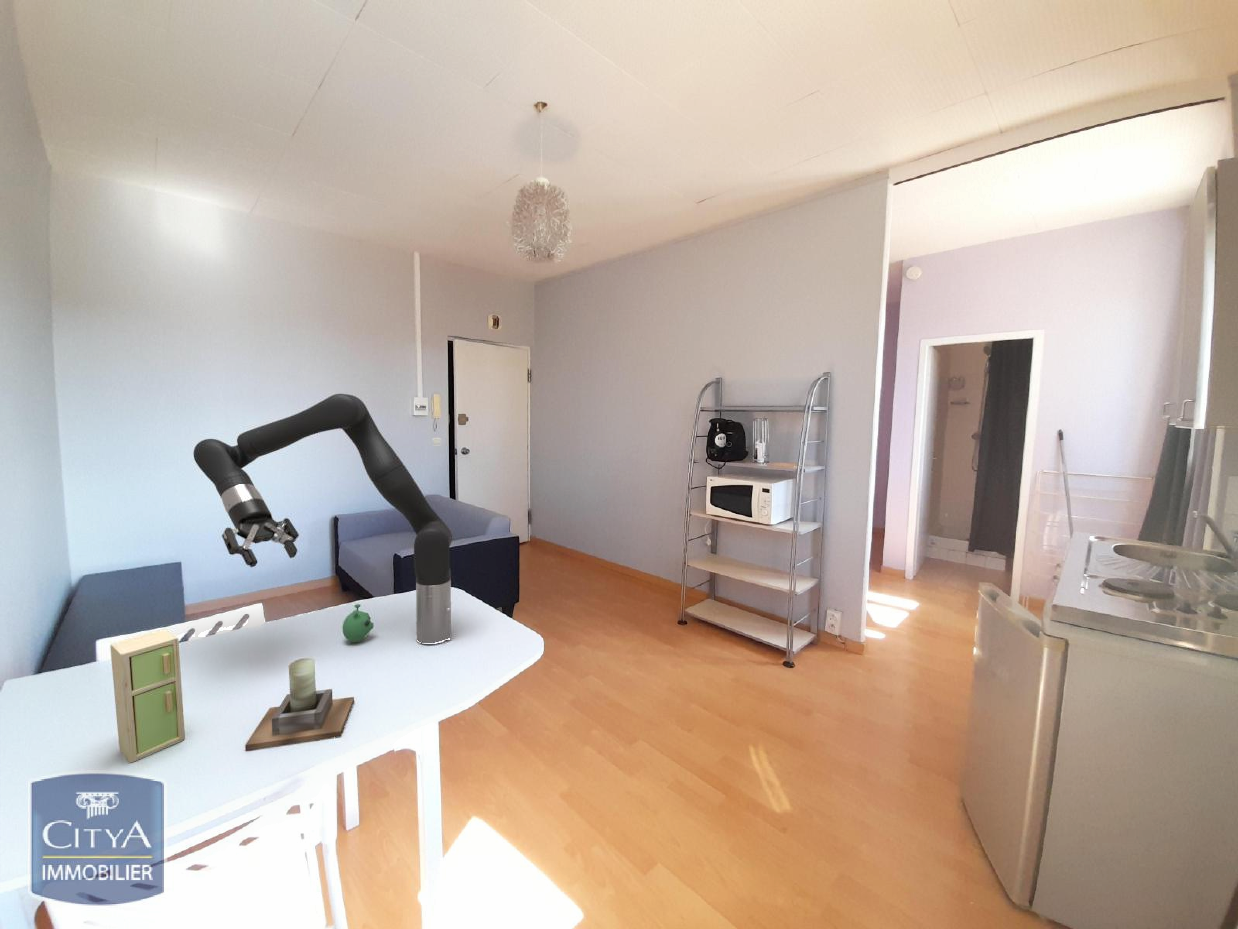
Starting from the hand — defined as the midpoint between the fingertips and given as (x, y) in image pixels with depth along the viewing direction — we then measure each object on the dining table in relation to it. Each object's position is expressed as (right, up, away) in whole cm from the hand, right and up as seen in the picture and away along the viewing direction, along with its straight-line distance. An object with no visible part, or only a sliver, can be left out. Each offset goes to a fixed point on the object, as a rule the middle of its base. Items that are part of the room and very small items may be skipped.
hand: (274, 560), depth 113 cm
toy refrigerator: (-7, -31, -22) cm, 39 cm away
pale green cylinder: (+17, -30, -15) cm, 37 cm away
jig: (+17, -31, -14) cm, 38 cm away
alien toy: (+8, -27, +21) cm, 36 cm away
